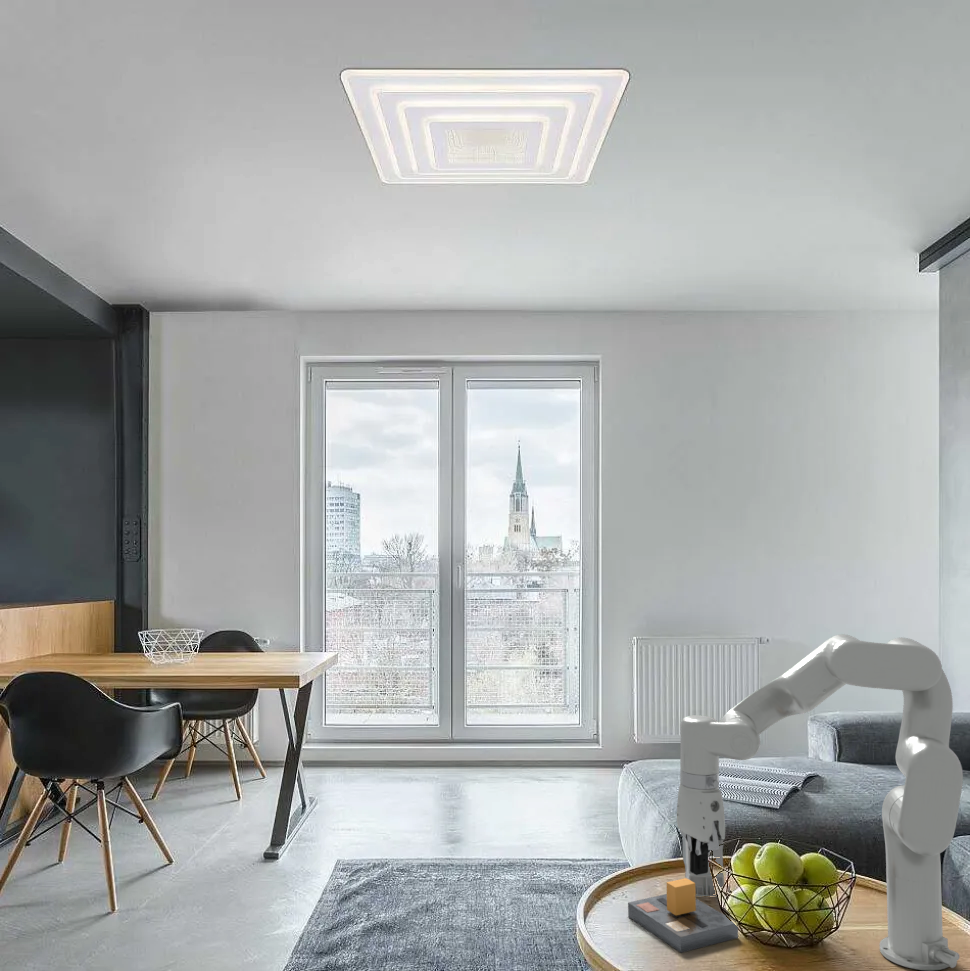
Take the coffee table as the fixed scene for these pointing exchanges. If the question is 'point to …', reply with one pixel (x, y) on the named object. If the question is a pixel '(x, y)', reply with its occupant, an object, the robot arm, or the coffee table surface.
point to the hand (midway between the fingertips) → (699, 872)
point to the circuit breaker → (704, 880)
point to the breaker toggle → (681, 896)
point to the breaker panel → (682, 923)
